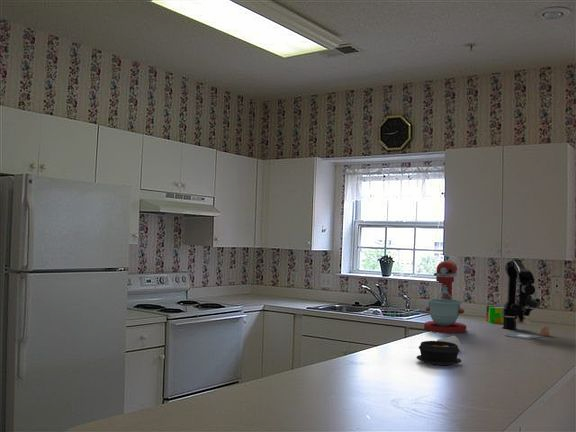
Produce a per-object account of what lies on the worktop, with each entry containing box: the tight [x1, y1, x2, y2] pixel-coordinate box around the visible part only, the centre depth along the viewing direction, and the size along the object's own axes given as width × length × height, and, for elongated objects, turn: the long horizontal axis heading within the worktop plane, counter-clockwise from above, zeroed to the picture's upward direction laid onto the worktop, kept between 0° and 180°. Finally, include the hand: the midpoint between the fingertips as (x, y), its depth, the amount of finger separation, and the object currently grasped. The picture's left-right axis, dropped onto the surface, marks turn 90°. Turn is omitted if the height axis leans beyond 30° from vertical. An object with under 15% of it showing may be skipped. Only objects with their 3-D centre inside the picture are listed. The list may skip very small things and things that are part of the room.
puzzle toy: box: [485, 305, 507, 325], centre depth 401 cm, size 10×10×10 cm
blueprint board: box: [504, 332, 544, 340], centre depth 343 cm, size 14×16×1 cm
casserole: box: [415, 340, 462, 367], centre depth 260 cm, size 25×19×8 cm
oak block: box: [516, 315, 531, 325], centre depth 343 cm, size 5×5×4 cm
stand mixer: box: [423, 260, 467, 334], centre depth 360 cm, size 24×32×40 cm
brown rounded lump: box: [539, 325, 550, 337], centre depth 350 cm, size 5×5×5 cm
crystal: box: [436, 335, 462, 351], centre depth 285 cm, size 7×7×24 cm
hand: (523, 321), depth 343 cm, fingers closed on oak block, 5 cm apart
